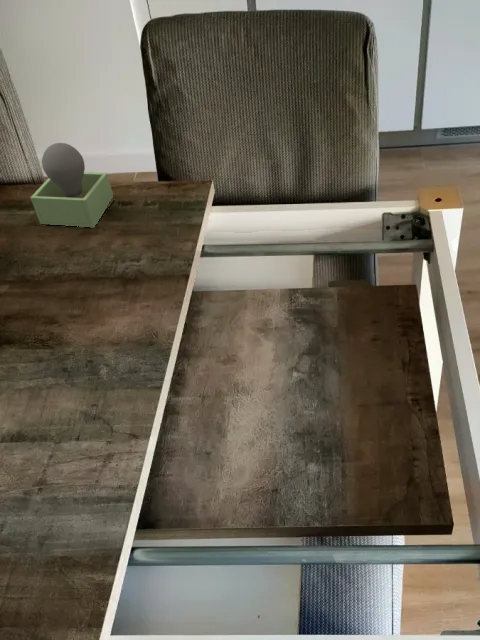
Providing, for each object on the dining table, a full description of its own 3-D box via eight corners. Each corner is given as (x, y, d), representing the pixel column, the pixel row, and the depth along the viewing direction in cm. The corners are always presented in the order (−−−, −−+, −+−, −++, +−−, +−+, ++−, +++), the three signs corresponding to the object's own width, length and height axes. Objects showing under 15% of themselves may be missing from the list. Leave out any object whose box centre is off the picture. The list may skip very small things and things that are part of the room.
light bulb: (87, 218, 101) (67, 154, 94) (51, 216, 102) (28, 152, 95) (102, 199, 105) (84, 136, 98) (67, 197, 106) (47, 135, 99)
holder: (40, 225, 102) (30, 197, 98) (64, 197, 108) (54, 170, 104) (94, 228, 101) (85, 200, 97) (114, 200, 106) (107, 172, 103)
